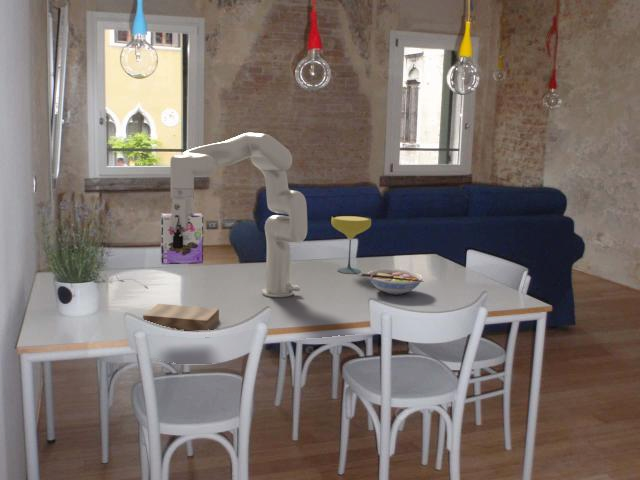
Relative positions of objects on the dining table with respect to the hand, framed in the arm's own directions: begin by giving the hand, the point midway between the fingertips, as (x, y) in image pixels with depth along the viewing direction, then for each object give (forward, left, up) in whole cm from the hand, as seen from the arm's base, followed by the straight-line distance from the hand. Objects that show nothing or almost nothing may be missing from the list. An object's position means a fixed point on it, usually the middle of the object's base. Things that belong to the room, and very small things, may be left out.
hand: (182, 245), depth 237 cm
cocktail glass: (-48, -93, -27) cm, 108 cm away
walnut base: (0, 0, -27) cm, 27 cm away
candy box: (0, 0, -6) cm, 6 cm away
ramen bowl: (-70, -61, -27) cm, 97 cm away
